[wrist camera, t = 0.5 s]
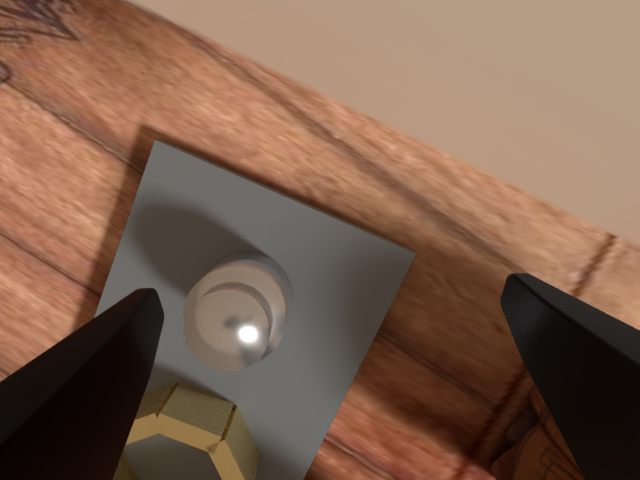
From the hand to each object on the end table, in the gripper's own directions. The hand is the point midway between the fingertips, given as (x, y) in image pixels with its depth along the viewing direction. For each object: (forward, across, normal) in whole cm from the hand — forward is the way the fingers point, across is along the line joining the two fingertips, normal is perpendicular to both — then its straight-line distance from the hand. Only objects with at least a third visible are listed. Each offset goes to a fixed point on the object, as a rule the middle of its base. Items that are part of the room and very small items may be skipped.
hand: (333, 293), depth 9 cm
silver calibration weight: (+10, +4, +8) cm, 13 cm away
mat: (+9, +7, +13) cm, 18 cm away
